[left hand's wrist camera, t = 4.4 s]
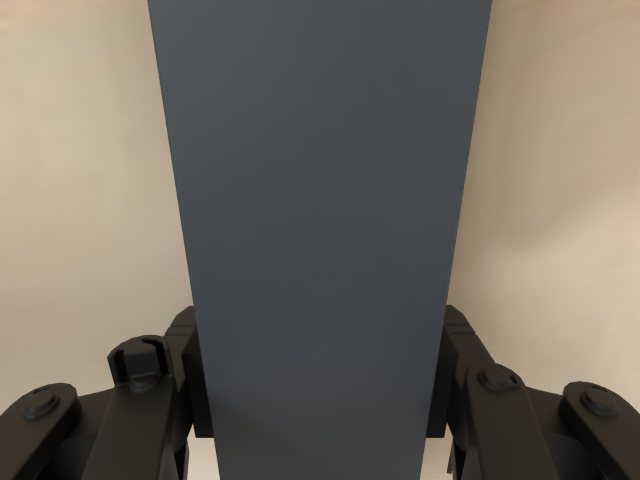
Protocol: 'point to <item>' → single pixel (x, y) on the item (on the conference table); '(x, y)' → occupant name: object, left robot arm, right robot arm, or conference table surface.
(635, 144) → the conference table surface
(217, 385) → the beam
